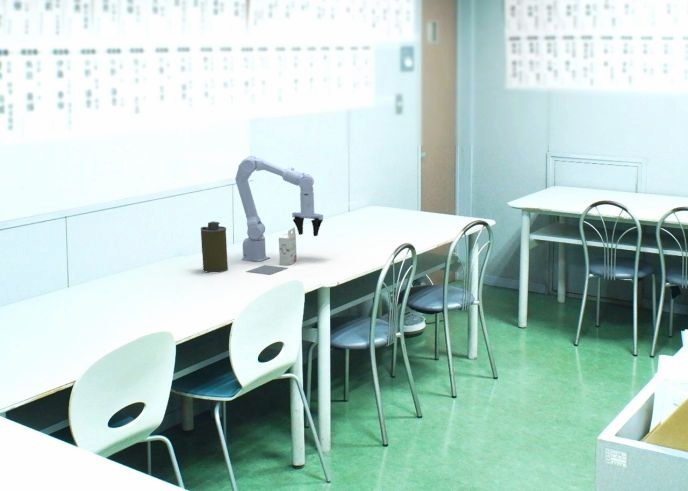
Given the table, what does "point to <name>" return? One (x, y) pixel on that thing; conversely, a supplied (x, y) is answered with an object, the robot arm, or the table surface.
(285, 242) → the ink cartridge box
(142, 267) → the table surface
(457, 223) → the table surface
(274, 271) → the mat
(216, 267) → the canister
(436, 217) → the table surface
